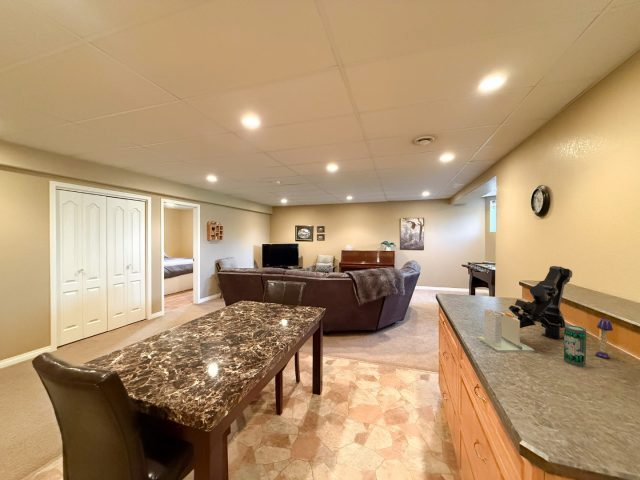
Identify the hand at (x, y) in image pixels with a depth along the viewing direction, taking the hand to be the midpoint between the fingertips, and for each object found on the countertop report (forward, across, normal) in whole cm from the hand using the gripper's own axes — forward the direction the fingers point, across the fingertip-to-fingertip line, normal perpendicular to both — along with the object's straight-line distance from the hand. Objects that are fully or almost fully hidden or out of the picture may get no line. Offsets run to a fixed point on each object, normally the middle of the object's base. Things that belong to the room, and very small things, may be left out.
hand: (515, 328), depth 122 cm
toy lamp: (-15, +13, +26) cm, 33 cm away
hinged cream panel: (+7, 0, +2) cm, 7 cm away
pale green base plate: (+10, 0, +2) cm, 10 cm away
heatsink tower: (+13, 0, -2) cm, 13 cm away
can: (-2, +17, +14) cm, 22 cm away
